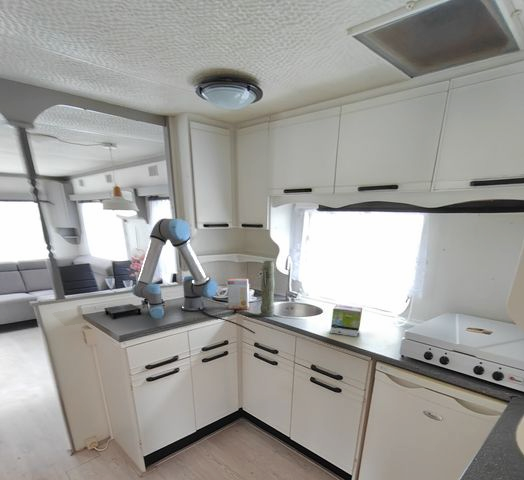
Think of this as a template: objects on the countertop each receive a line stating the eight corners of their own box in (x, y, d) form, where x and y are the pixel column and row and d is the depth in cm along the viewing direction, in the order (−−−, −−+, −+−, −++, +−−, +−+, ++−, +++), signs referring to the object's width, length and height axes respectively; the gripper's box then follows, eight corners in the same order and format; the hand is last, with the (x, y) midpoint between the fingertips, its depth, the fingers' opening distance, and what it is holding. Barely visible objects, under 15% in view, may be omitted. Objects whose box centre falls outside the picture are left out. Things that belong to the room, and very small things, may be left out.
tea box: (330, 333, 184) (332, 308, 178) (333, 328, 193) (335, 304, 187) (357, 337, 179) (360, 311, 173) (359, 331, 188) (362, 306, 182)
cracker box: (248, 307, 234) (248, 278, 226) (247, 310, 228) (247, 280, 220) (229, 307, 235) (229, 278, 227) (228, 309, 230) (227, 279, 222)
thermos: (276, 313, 222) (277, 260, 208) (271, 317, 211) (272, 262, 198) (263, 312, 224) (264, 259, 211) (258, 316, 214) (258, 262, 200)
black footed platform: (141, 314, 215) (140, 308, 214) (113, 319, 204) (112, 313, 202) (132, 309, 226) (131, 303, 225) (105, 313, 215) (104, 307, 213)
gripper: (139, 314, 197) (136, 305, 216) (171, 311, 204) (166, 303, 223) (137, 302, 194) (135, 294, 214) (170, 300, 201) (165, 292, 220)
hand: (151, 299), depth 218 cm, fingers closed on packet, 6 cm apart
